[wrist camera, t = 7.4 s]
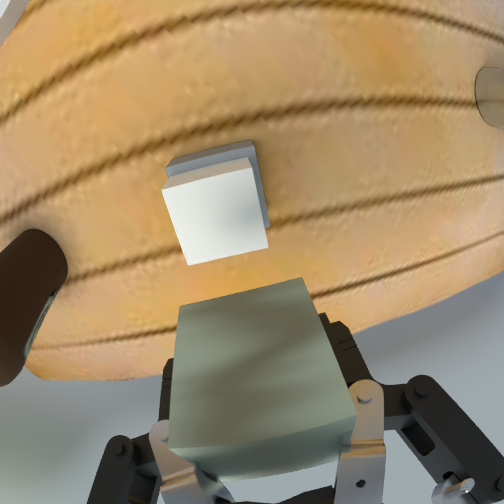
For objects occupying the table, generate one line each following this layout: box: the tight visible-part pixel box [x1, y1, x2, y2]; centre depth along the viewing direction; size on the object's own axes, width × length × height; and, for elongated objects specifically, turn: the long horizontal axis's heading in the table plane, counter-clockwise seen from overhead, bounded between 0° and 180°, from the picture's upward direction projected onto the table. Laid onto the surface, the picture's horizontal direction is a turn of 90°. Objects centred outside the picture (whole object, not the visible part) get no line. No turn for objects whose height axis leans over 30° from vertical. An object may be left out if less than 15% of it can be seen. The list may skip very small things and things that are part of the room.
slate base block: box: [165, 140, 270, 228], centre depth 27 cm, size 8×8×4 cm
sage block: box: [168, 277, 357, 481], centre depth 10 cm, size 5×5×6 cm
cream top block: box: [161, 157, 268, 266], centre depth 24 cm, size 7×7×4 cm
